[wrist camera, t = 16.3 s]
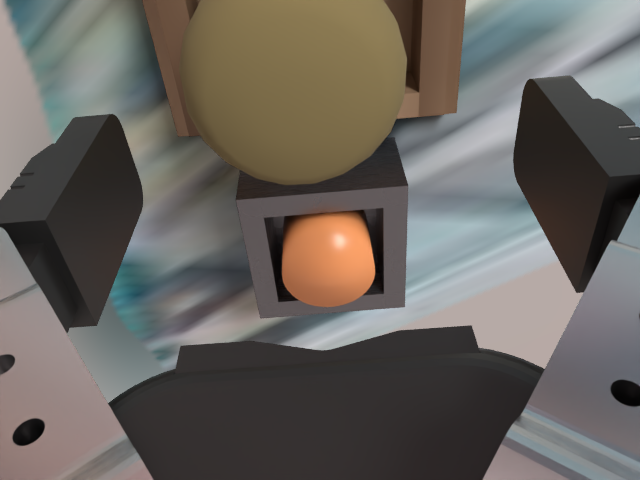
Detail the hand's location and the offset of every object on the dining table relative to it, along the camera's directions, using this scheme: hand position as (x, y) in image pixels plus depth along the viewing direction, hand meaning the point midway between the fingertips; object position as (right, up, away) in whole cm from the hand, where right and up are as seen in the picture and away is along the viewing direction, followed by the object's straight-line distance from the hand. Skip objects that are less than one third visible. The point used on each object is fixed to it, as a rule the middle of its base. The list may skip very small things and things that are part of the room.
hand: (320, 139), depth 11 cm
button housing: (0, 0, +17) cm, 17 cm away
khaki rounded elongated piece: (-1, +8, +9) cm, 12 cm away
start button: (0, -1, +15) cm, 15 cm away
